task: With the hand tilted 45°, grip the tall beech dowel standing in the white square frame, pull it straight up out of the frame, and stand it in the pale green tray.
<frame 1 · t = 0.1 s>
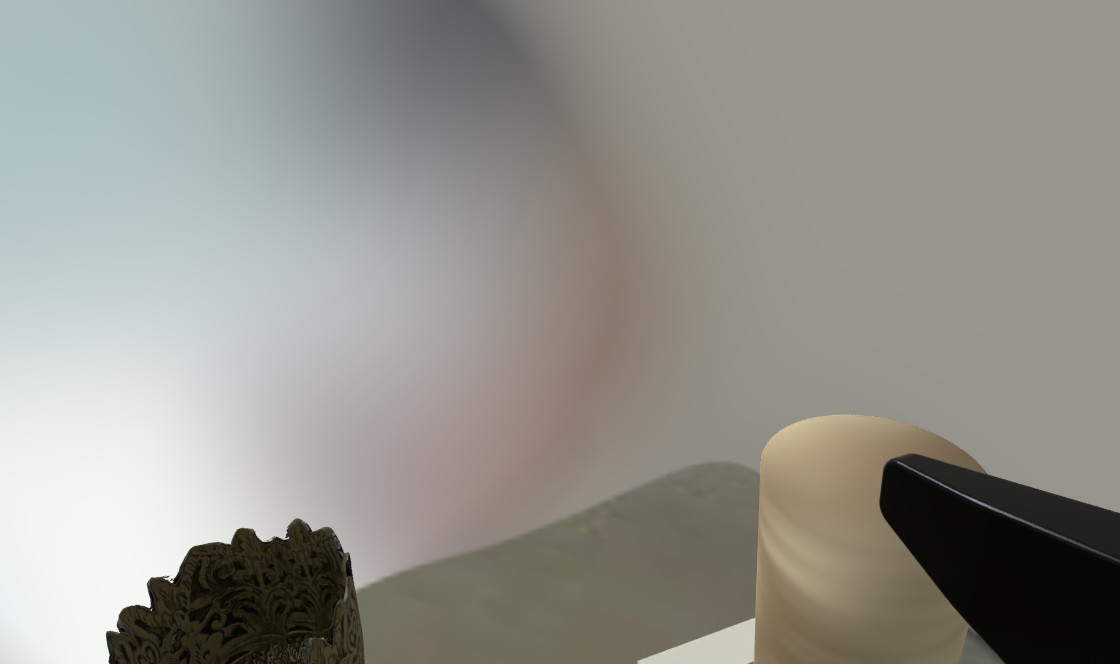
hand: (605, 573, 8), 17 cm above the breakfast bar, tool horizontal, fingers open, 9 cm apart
beech dowel: (847, 658, 18), in the white square frame
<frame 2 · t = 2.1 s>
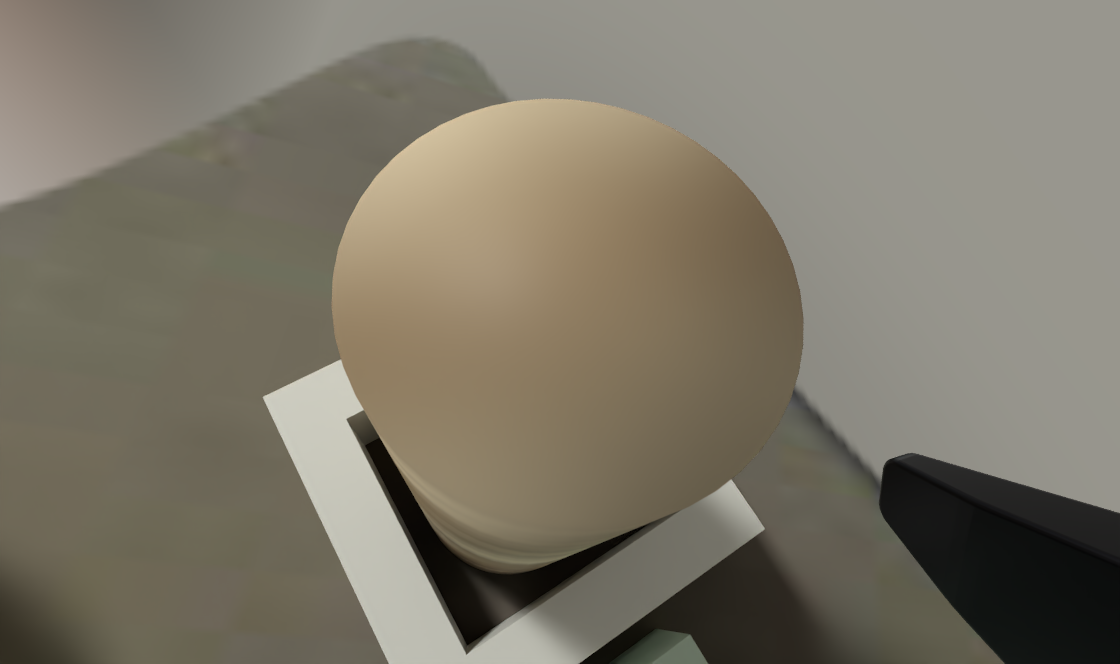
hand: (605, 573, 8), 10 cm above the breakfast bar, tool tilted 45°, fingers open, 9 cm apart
beech dowel: (527, 430, 13), in the white square frame
white square frame: (510, 483, 19), on the breakfast bar
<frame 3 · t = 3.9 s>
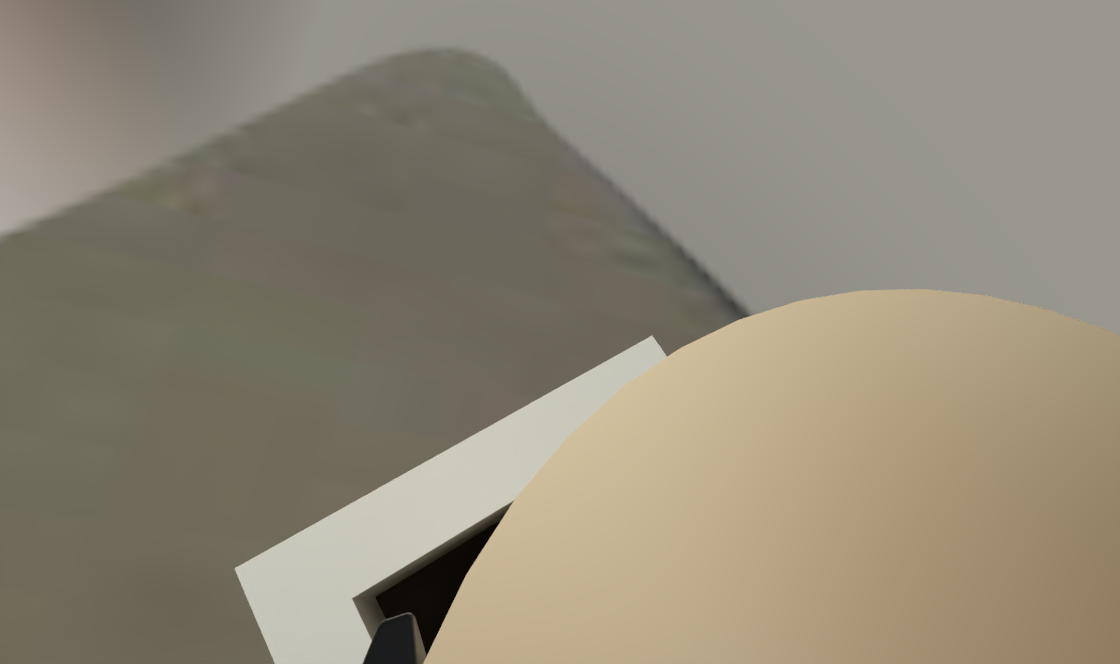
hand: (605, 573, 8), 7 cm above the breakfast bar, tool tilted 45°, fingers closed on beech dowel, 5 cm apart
white square frame: (567, 646, 14), on the breakfast bar
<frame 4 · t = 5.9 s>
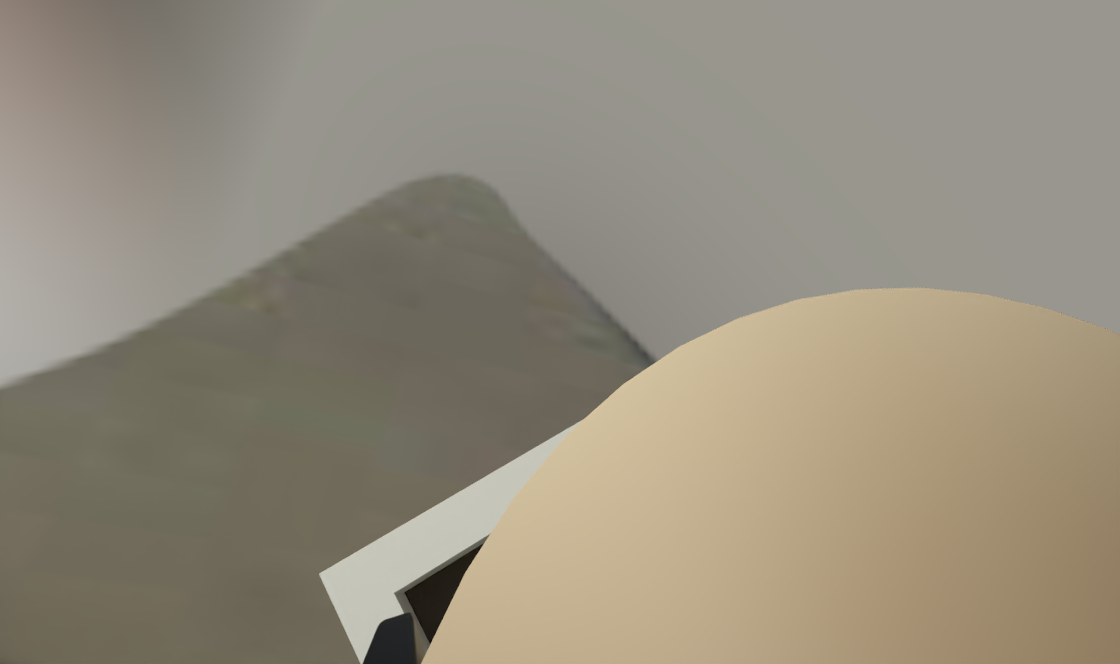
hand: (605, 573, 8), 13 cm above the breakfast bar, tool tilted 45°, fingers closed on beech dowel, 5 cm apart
white square frame: (536, 626, 20), on the breakfast bar
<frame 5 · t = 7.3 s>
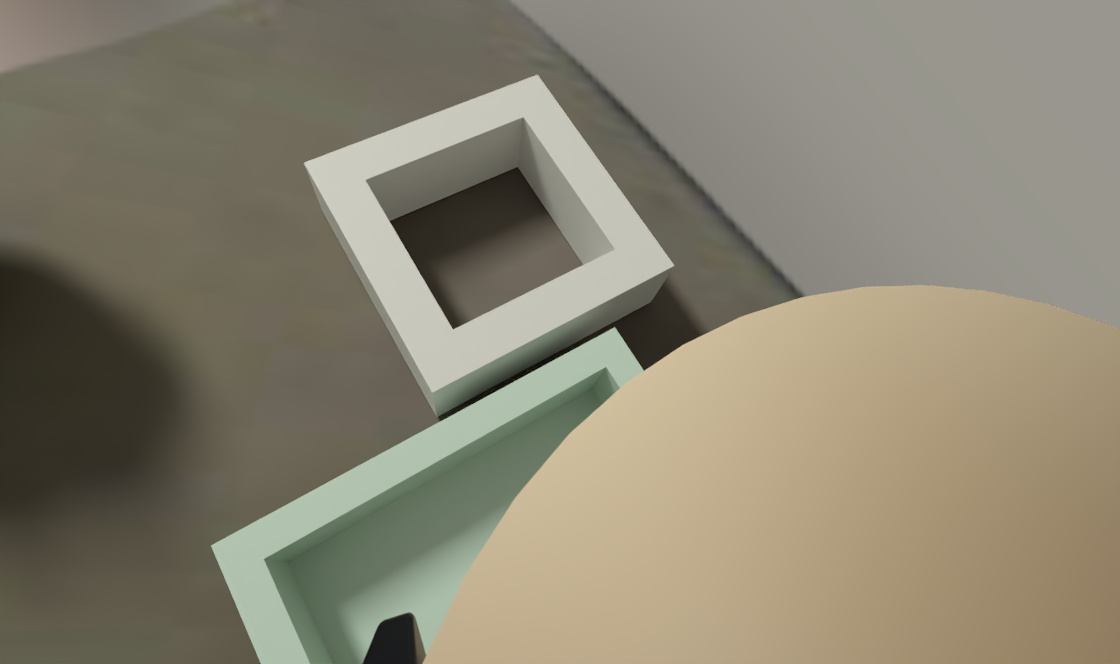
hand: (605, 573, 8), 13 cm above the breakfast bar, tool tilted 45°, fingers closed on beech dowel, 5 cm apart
white square frame: (488, 257, 24), on the breakfast bar
pale green tray: (536, 625, 20), on the breakfast bar
when the fingers open (9 cm above the breakfast bar, at t = 8.4 s): beech dowel drops 2 cm, resting on pale green tray.
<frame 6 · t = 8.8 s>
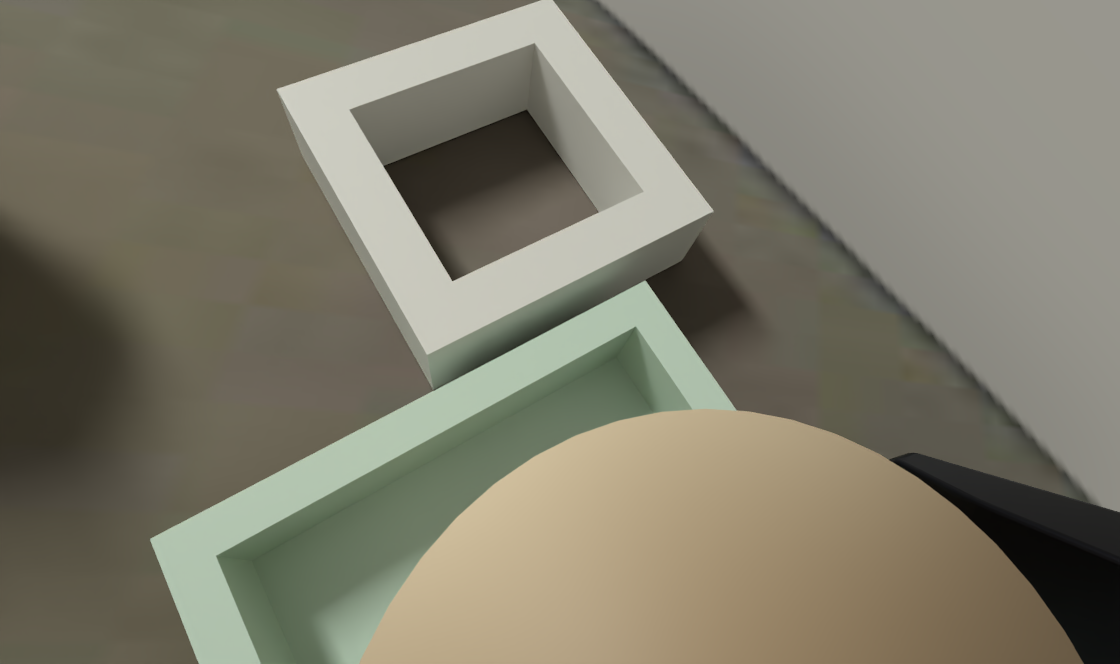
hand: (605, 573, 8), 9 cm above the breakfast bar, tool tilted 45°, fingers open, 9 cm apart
white square frame: (493, 208, 21), on the breakfast bar
pale green tray: (553, 637, 16), on the breakfast bar
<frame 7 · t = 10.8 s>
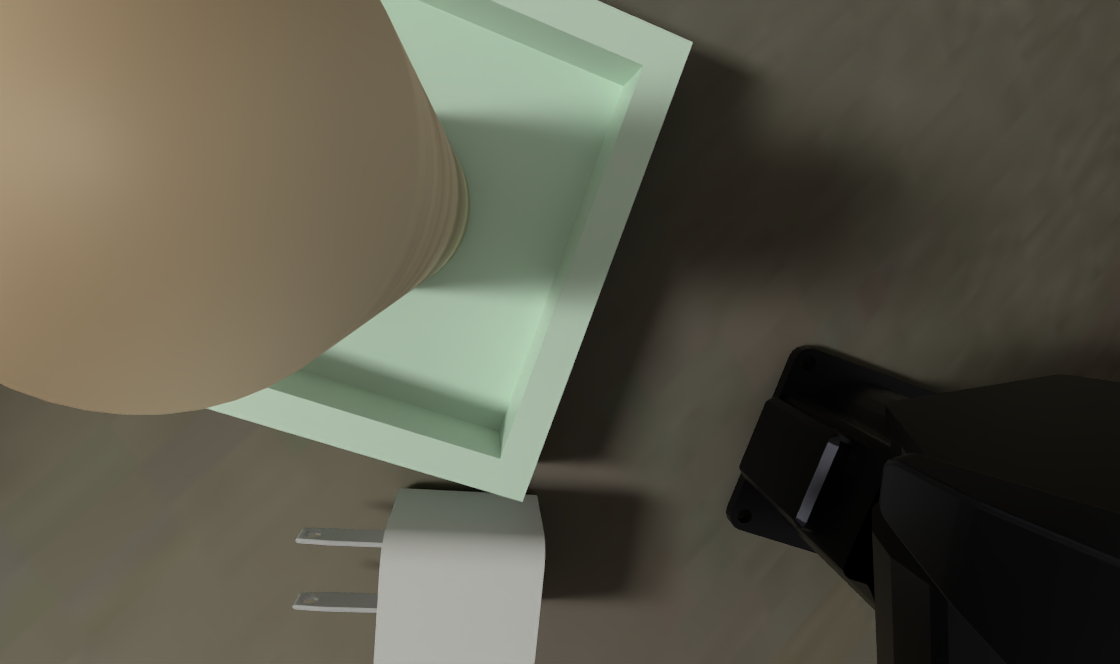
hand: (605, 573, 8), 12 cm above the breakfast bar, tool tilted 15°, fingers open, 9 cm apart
beech dowel: (322, 186, 12), in the pale green tray, point 7 cm above the breakfast bar
usb wall charger: (425, 536, 21), on the breakfast bar
pale green tray: (384, 200, 19), on the breakfast bar
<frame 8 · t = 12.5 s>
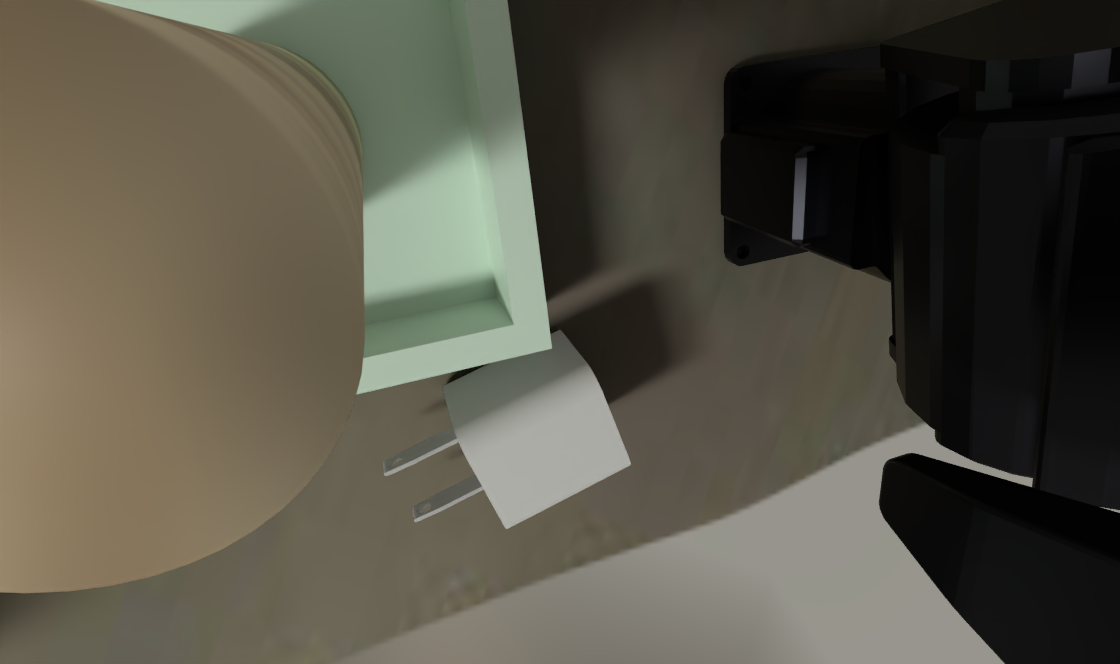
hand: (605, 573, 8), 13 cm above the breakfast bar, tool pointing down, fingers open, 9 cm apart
beech dowel: (207, 189, 11), in the pale green tray, point 7 cm above the breakfast bar
usb wall charger: (485, 410, 22), on the breakfast bar
pale green tray: (260, 141, 17), on the breakfast bar
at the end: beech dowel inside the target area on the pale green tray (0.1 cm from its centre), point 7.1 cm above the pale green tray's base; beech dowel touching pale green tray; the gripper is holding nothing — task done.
